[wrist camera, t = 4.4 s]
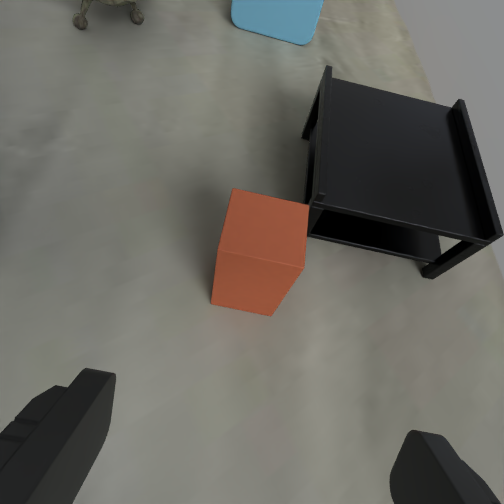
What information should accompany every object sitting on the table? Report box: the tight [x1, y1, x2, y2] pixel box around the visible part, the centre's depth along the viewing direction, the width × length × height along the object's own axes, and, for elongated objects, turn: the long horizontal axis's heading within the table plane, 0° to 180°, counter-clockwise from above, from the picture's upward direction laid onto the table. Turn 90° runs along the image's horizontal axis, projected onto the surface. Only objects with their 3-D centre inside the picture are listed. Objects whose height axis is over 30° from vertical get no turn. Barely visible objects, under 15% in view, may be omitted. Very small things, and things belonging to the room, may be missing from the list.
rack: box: [301, 65, 504, 279], centre depth 30 cm, size 14×16×8 cm
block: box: [211, 188, 309, 316], centre depth 23 cm, size 5×5×9 cm
